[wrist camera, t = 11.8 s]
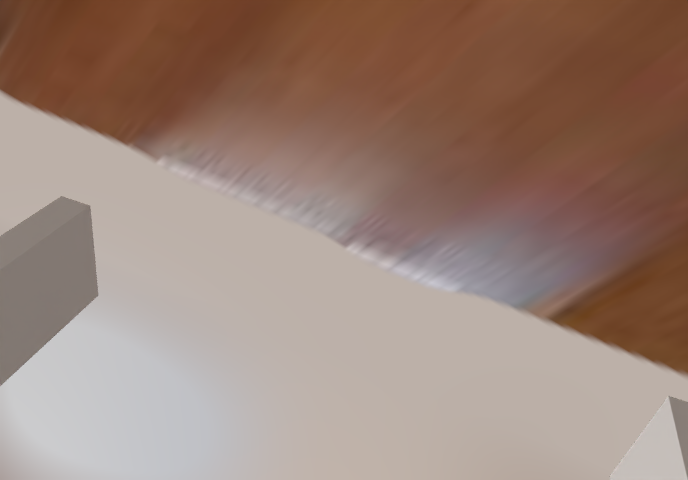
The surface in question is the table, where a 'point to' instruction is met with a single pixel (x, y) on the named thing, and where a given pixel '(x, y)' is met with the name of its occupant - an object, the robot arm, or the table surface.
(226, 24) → the table surface
